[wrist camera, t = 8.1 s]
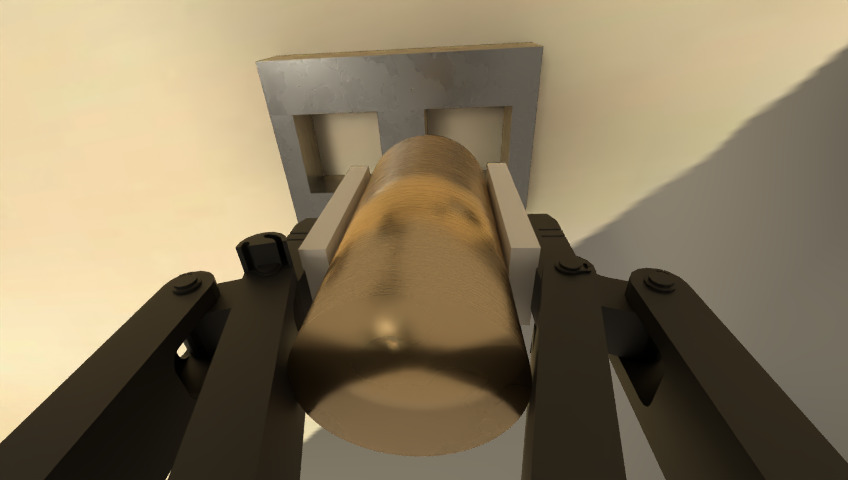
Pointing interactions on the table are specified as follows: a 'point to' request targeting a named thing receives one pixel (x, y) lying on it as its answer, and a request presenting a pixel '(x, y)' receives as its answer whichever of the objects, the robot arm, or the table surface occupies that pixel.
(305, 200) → the jig
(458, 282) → the brass cylinder
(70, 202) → the table surface
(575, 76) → the table surface
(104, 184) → the table surface
